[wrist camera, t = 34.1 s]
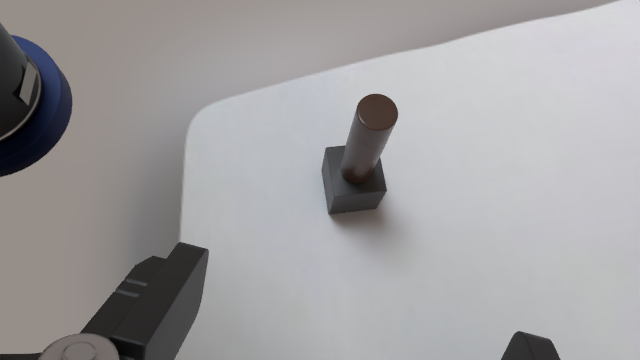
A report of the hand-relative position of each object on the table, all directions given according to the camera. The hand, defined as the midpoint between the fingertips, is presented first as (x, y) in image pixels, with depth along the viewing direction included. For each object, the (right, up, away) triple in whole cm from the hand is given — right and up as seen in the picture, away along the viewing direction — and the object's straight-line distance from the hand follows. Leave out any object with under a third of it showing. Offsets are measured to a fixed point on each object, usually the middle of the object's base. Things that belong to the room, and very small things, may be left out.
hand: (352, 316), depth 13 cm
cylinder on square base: (+1, +3, +24) cm, 25 cm away
